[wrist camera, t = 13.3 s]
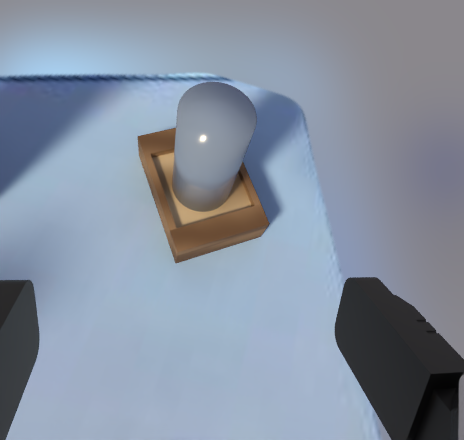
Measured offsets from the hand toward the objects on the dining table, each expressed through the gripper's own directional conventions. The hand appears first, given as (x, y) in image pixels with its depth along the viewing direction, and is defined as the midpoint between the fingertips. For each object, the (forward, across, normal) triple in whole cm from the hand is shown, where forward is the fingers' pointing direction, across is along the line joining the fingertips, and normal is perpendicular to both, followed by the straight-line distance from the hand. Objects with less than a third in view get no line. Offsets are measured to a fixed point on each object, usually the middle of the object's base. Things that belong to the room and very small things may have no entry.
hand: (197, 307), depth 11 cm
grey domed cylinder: (+28, -3, +6) cm, 29 cm away
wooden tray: (+30, -3, +8) cm, 31 cm away
